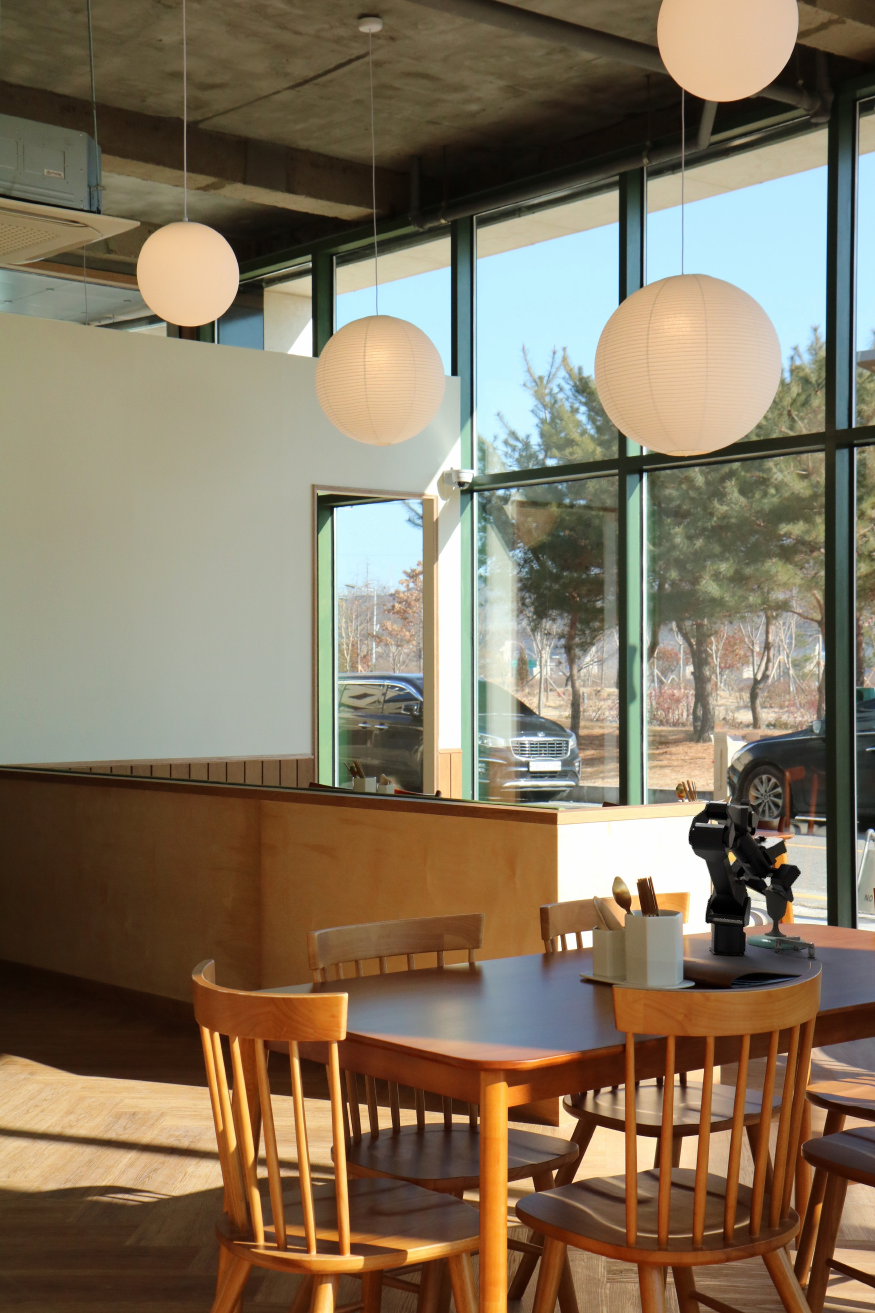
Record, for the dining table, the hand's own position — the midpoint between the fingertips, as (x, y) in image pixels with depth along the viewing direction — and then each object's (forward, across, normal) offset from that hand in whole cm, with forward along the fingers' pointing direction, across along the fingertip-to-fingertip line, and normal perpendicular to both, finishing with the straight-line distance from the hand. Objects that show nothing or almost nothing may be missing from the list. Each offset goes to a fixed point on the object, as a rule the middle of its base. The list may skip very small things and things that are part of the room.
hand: (781, 899), depth 302 cm
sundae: (+5, 0, +7) cm, 9 cm away
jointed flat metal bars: (+3, -10, +12) cm, 16 cm away
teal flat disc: (+6, 0, +8) cm, 10 cm away
